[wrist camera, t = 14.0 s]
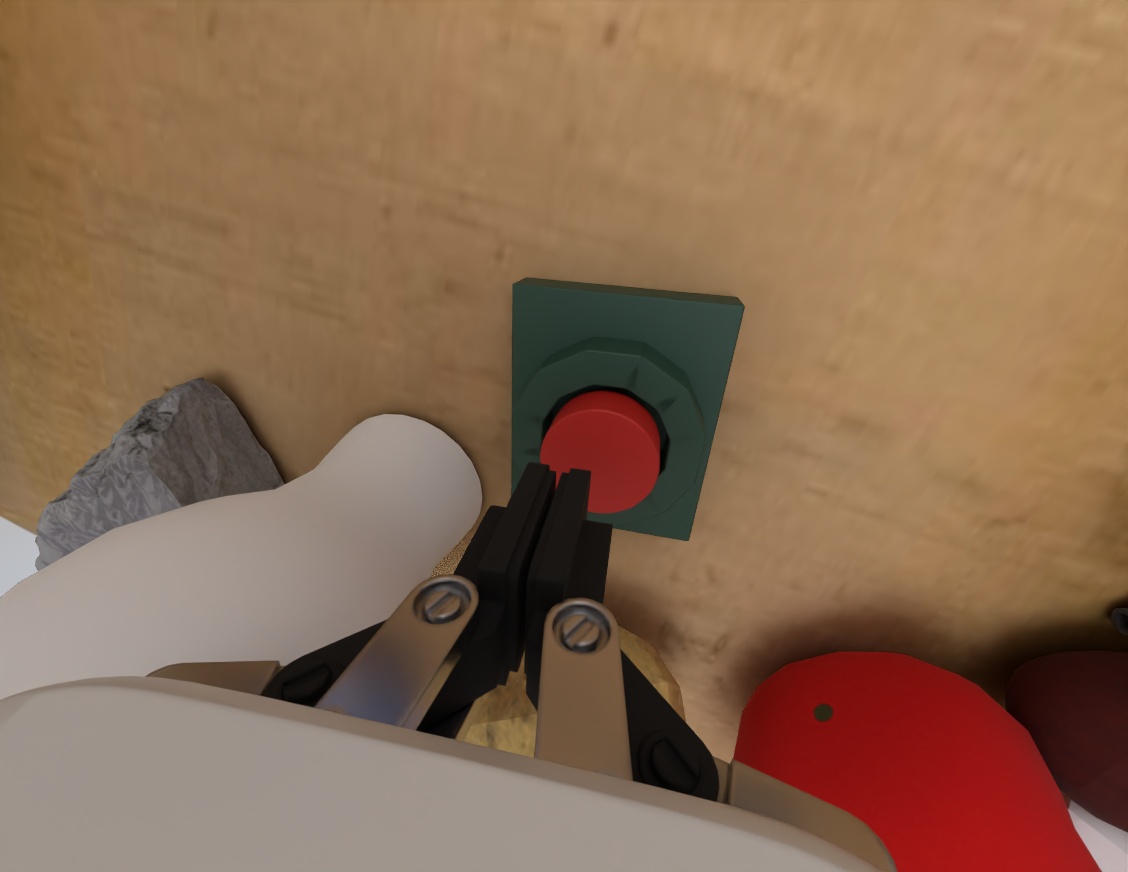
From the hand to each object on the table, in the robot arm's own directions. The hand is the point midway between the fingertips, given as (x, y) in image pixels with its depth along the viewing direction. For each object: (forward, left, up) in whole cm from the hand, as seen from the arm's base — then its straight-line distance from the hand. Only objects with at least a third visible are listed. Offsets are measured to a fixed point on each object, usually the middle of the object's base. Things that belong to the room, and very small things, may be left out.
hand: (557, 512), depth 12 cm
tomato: (+11, -9, -3) cm, 14 cm away
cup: (-9, -6, -8) cm, 14 cm away
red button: (+1, 0, -5) cm, 5 cm away
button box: (+1, 0, -8) cm, 8 cm away
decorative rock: (-15, -9, -6) cm, 18 cm away
